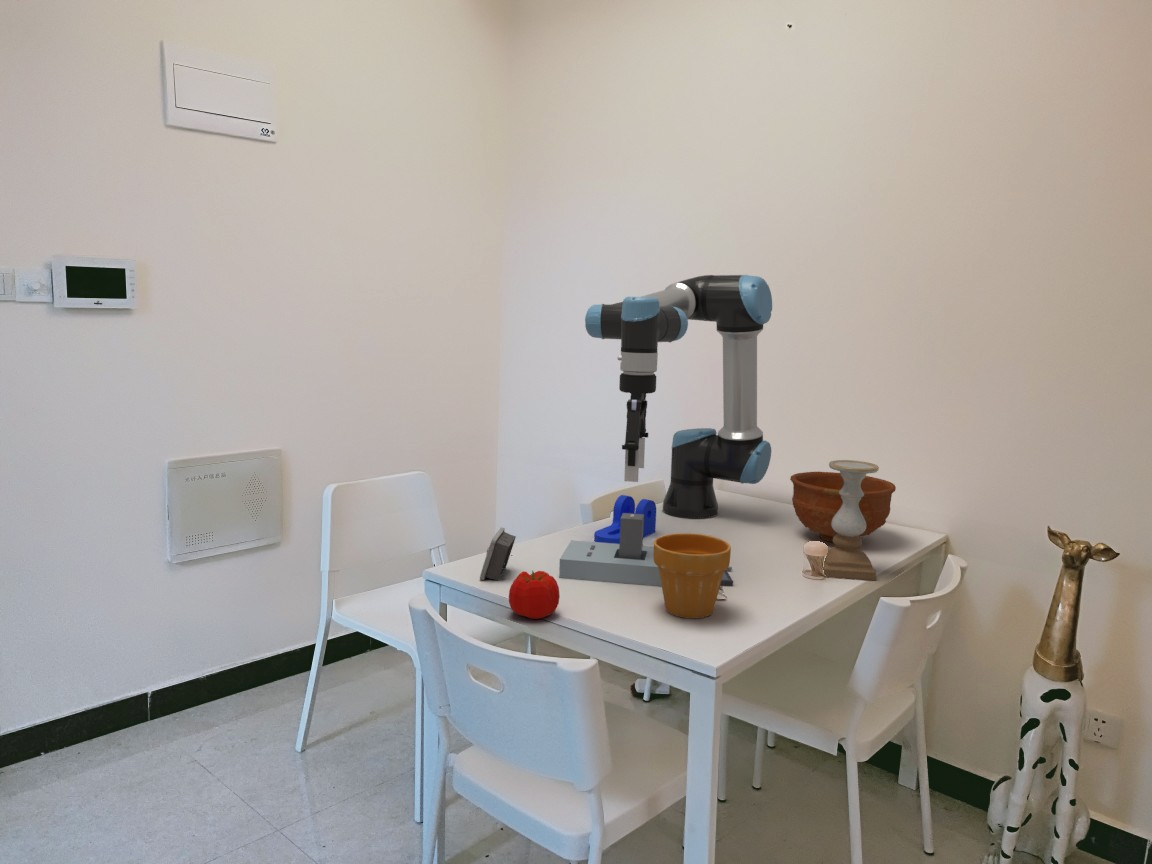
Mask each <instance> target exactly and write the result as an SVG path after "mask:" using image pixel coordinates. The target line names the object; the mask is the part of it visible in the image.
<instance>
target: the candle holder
mask: <svg viewBox="0 0 1152 864" xmlns="http://www.w3.org/2000/svg"><path fill="white" fill-rule="evenodd" d="M828 466H829V468H830V469H832V470H834V471H837V472H838V471H839V473H840V475H841V476H842V478H843V480H844V485H843V487H842V489H841V490H840V491H839V494H840V495H841V498H842V501H843V503H842V506H841V508H840V509H839V510H838V512H837V513H836V514H835V515H834V517H833V519H832V522H831V525H832V528H833V529H834V531H835V532H837V534H836V535H835V536H834V537H833V542H832V543H833V544H834V546H833V547H830V548H827V549H828V553H827V556H826V558H825V561H824V567H823V570H824V574H825V575H826V576H827V577H826V578H829V577H835V578H834V579H841V578H845V579H844V580H855V579H861V580H860V581H873V582H874V581H876V575H877V574H876V573H877V572H876V570H875V568H874V567H873V565H872V562H871V560H870V558H869V556H867V554H866V553H865V552H864V551H862V550H861V549H860V547H861V546H863V540H862V538H861V537H859V535H860V534H862V533H864V531H865V530H866V521H865V519H864V517H863V515H862V513H861V511H860V509H859V501H860V500H861V497H863V496H864V493H863V492H862V490H861V482H862V480H863V479H864V478H865V477H866V476H867V474H875V473H878V471H879V467H880V466H879V465H877V464H874V463H871V462H867V461H863V460H862V461H861V460H854V459H853V460H849V459H837V460H831V461H830V462H829V463H828Z"/></svg>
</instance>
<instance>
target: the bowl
mask: <svg viewBox="0 0 1152 864" xmlns="http://www.w3.org/2000/svg"><path fill="white" fill-rule="evenodd" d="M789 480H790V482H791V483H792V485H793V488H792V489H793V492H792V493H793V494H792V498H791V501H792V506H793V508H794V512H795V516H796V517H797V518H798V521H799V522H801V524H802V525H803V526H804V527H805V528H807V529H808V530H810V531H811V532H813V533H816V534H817V533H818V534H819V537H820V539H822V540H824V541H828V542H831V543H833V537H834V536H835V535H836V534H837V532H835V531H834V529H833V528H832V525H831V522H832V519H833V517H834V515H835V514H836V513H837V512H838V510H839V509H840V508H841V506H842V503H843V501H842V498H841V495H840V494H839V491H840V490H841V489H842V487H843V485H844V480H843V478H842V476H841V475H840V472H834V471H833V472H832V471H831V472H829V471H806V472H805V471H804V472H799V473H794V474H792V475H790V478H789ZM896 489H897V487H896V485H895V483H892V482H891V481H888V480H885V479H882V478H877V477H873V476H869V475H866V477H865V478H864V479H863V480H862V482H861V490H862V492H863V493H864V496H863V497H861V500H860V501H859V509H860V511H861V513H862V515H863V517H864V519H865V521H866V530H865V531H864V533H862V534H860V535H859V537H860V538H861V537H864V536H869V535H871V534H872V533H874V532H875V531H877V530H878V529H880V528H881V527H883V526H884V525H885V524H886V523H887V519H888V517H889V515H890V512H891V502H892V495H893V493H895V492H896Z"/></svg>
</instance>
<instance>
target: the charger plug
mask: <svg viewBox="0 0 1152 864" xmlns="http://www.w3.org/2000/svg"><path fill="white" fill-rule="evenodd" d="M643 525H644V514H630V513H623V514H622V516H621V519H620V545H619V558H623V559H636V560H642V548H643V546H644V545H643V544H644V541H643V540H644V537H643Z"/></svg>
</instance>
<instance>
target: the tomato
mask: <svg viewBox="0 0 1152 864" xmlns="http://www.w3.org/2000/svg"><path fill="white" fill-rule="evenodd" d="M560 598H561V597H560V587H559V584H558V582H557V580H556V579H555V577H554V576H552V575H550V574H549V573H548V572H546V571H543V570H538V571H535V572H534V570H532V572H531V573H530V574H529V573H528V572H527V571H526V570H525V571H523V570H522V571H521V572H520V573H518V575H517V577H516V578H514V580H513V582H512V583H511V585H510V587H509V591H508V603H509V606H510V609H511V611H513V613H515V614H517V615H519V616H521V617H522V616H523V617H526V618H529V619H533V620H538V619H543V618H545V617H547V616H551V615H552V614H553V613H555V611H556V610H557V608H558V605H559V603H560Z"/></svg>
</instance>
